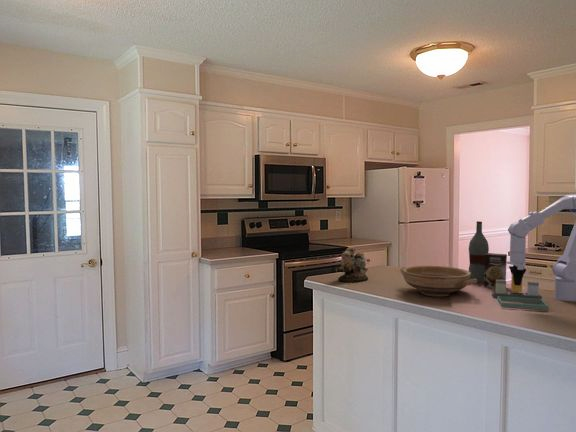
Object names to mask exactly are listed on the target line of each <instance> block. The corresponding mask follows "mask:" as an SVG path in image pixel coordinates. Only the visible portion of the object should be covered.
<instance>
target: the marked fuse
mask: <svg viewBox="0 0 576 432" xmlns="http://www.w3.org/2000/svg"><path fill="white" fill-rule="evenodd" d="M510 284H511V287H510V289H511V291H510V292H517V293H523V281H522V282H521V285H515V284H514V278H513V274H511V282H510Z"/></svg>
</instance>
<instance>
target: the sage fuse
mask: <svg viewBox="0 0 576 432" xmlns="http://www.w3.org/2000/svg"><path fill="white" fill-rule="evenodd" d="M495 291H496V293H499V294H506V292H507V279H506V280H496V288H495Z"/></svg>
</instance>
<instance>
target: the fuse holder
mask: <svg viewBox="0 0 576 432" xmlns="http://www.w3.org/2000/svg"><path fill="white" fill-rule="evenodd" d="M497 296H502V297H518V298H534V299H542V300H543V295H541V294H540V293H538V296H532V295H527V292H513V291H506V294H499V293H496V290H492V291H491V297H492V299H496V300H497Z"/></svg>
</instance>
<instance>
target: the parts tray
mask: <svg viewBox="0 0 576 432" xmlns="http://www.w3.org/2000/svg"><path fill="white" fill-rule="evenodd" d="M496 300H497V301H498V303H499V306H500V307H501V308H500V310H504V308H507V310H508V311H509V310H511V311H518V309H523V310H524V311H525V312H533V310H536V312H538V313H539V312H541V313H547V311H545V310H549V304H547V303H546V301H544V300H543V298H542V299H534V298H518V297H502V296H497V299H496ZM518 302H519V303H518ZM520 302H521V303H520ZM530 303H531V304H530ZM533 303H534V304H533ZM515 308H517V309H515ZM530 309H533V310H530Z"/></svg>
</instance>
